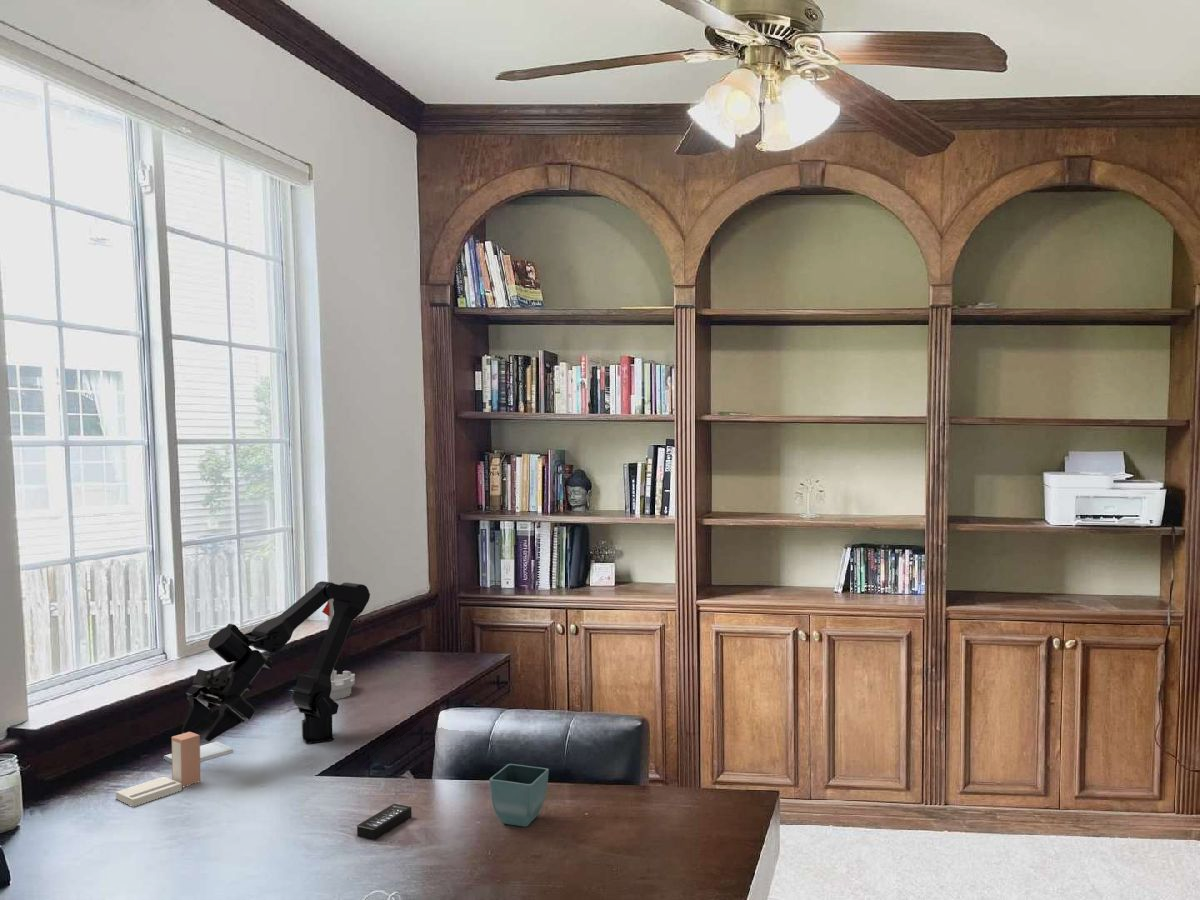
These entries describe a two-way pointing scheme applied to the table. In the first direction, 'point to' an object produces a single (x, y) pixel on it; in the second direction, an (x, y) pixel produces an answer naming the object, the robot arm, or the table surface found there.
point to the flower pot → (518, 793)
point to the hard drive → (209, 751)
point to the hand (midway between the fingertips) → (194, 736)
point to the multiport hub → (384, 821)
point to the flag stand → (343, 681)
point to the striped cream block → (148, 791)
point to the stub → (186, 758)
